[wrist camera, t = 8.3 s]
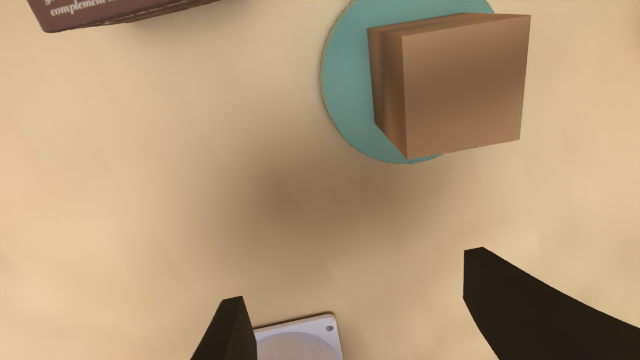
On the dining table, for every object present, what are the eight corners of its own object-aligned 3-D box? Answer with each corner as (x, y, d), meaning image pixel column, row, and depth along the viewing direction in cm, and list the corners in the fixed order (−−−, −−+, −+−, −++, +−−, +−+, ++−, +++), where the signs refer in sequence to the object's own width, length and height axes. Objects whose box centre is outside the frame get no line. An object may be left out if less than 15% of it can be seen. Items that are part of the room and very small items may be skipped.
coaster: (481, 134, 22) (499, 145, 21) (331, 164, 22) (338, 178, 20) (486, -40, 18) (510, -45, 17) (304, -8, 18) (308, -9, 16)
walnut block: (460, 108, 19) (519, 139, 15) (374, 123, 19) (407, 160, 15) (462, 12, 17) (530, 14, 13) (366, 28, 17) (401, 36, 13)
